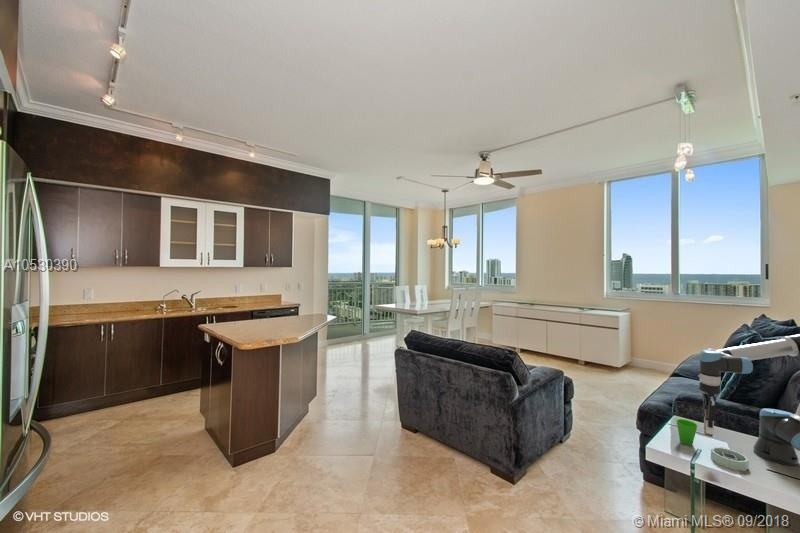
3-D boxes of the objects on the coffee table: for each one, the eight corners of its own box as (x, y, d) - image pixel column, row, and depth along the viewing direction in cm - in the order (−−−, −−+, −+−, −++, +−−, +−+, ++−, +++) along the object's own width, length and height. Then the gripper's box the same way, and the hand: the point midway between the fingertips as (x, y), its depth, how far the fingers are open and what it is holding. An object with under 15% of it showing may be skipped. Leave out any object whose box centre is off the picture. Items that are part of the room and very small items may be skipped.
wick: (711, 434, 167) (711, 410, 167) (712, 437, 165) (713, 411, 165) (704, 433, 168) (704, 408, 168) (705, 435, 166) (706, 410, 166)
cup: (701, 448, 178) (702, 427, 178) (681, 446, 180) (682, 425, 179) (690, 440, 187) (691, 419, 186) (671, 437, 188) (672, 417, 188)
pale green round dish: (742, 460, 168) (742, 452, 168) (752, 473, 157) (752, 464, 157) (708, 452, 174) (708, 444, 174) (715, 464, 163) (715, 456, 163)
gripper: (695, 377, 175) (694, 423, 175) (703, 386, 161) (702, 437, 162) (715, 380, 171) (714, 427, 171) (725, 389, 158) (724, 441, 158)
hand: (708, 432), depth 166 cm, fingers closed on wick, 2 cm apart
